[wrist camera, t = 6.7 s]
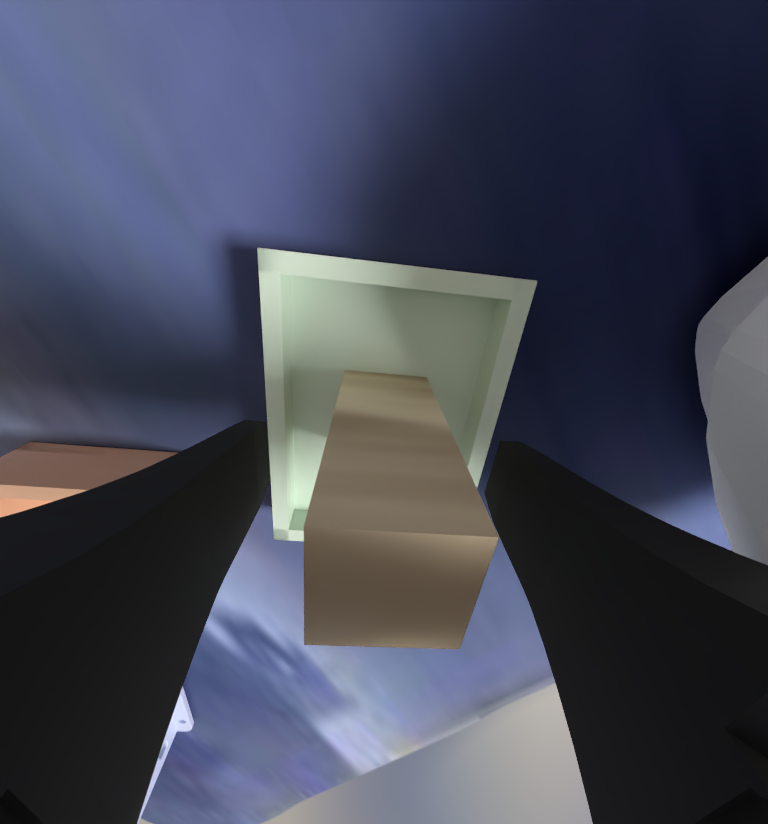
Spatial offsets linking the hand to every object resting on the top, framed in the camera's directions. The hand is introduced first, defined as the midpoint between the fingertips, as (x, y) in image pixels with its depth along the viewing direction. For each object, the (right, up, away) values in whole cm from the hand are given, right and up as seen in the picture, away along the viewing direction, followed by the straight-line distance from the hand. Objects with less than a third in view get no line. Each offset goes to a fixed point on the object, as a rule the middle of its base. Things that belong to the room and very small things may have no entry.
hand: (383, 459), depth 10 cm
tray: (0, +2, +3) cm, 3 cm away
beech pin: (0, +2, +2) cm, 3 cm away
